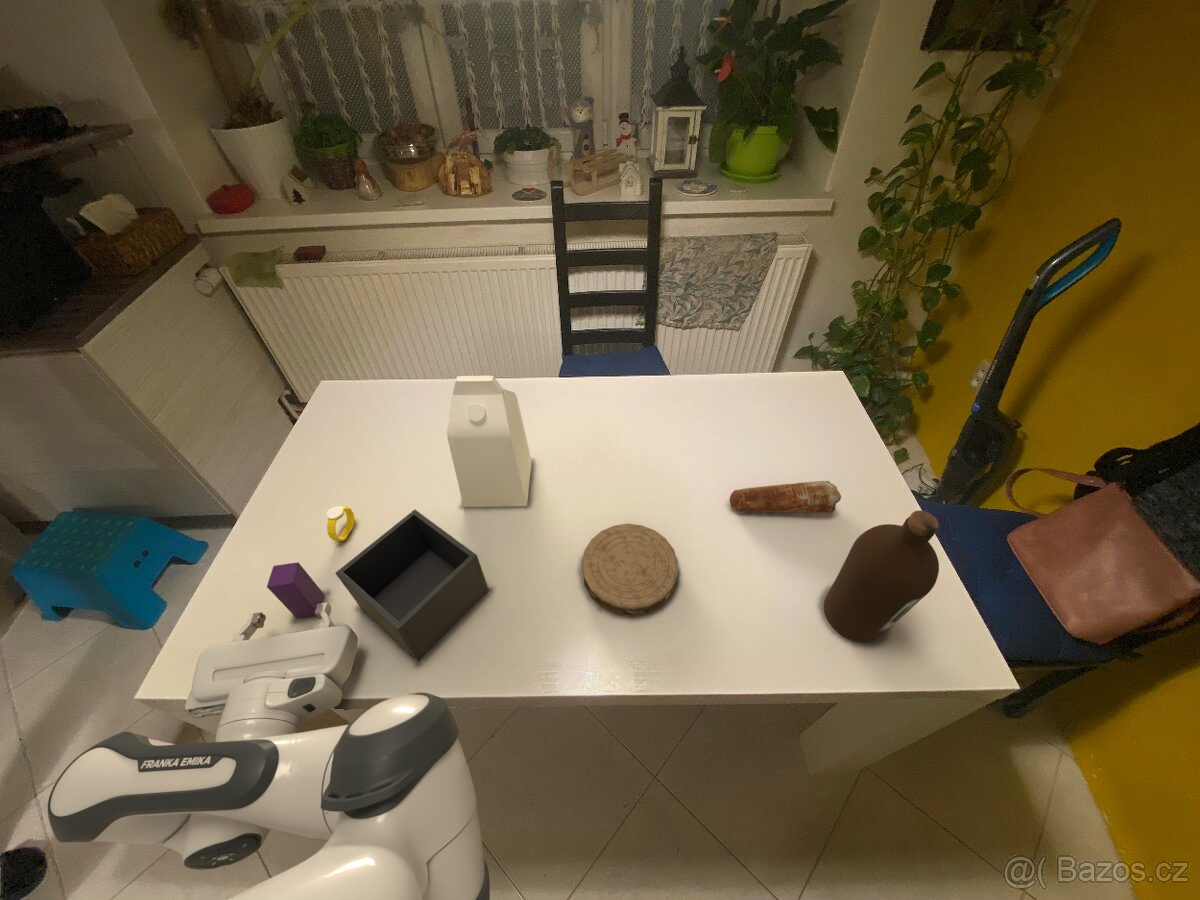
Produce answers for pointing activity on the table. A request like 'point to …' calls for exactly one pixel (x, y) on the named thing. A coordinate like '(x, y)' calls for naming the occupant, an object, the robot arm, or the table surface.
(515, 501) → the milk
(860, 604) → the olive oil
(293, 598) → the purple rectangular block
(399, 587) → the waste bin
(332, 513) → the watch
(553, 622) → the table surface
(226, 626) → the table surface
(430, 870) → the robot arm
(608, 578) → the wood slice coaster
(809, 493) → the bread
